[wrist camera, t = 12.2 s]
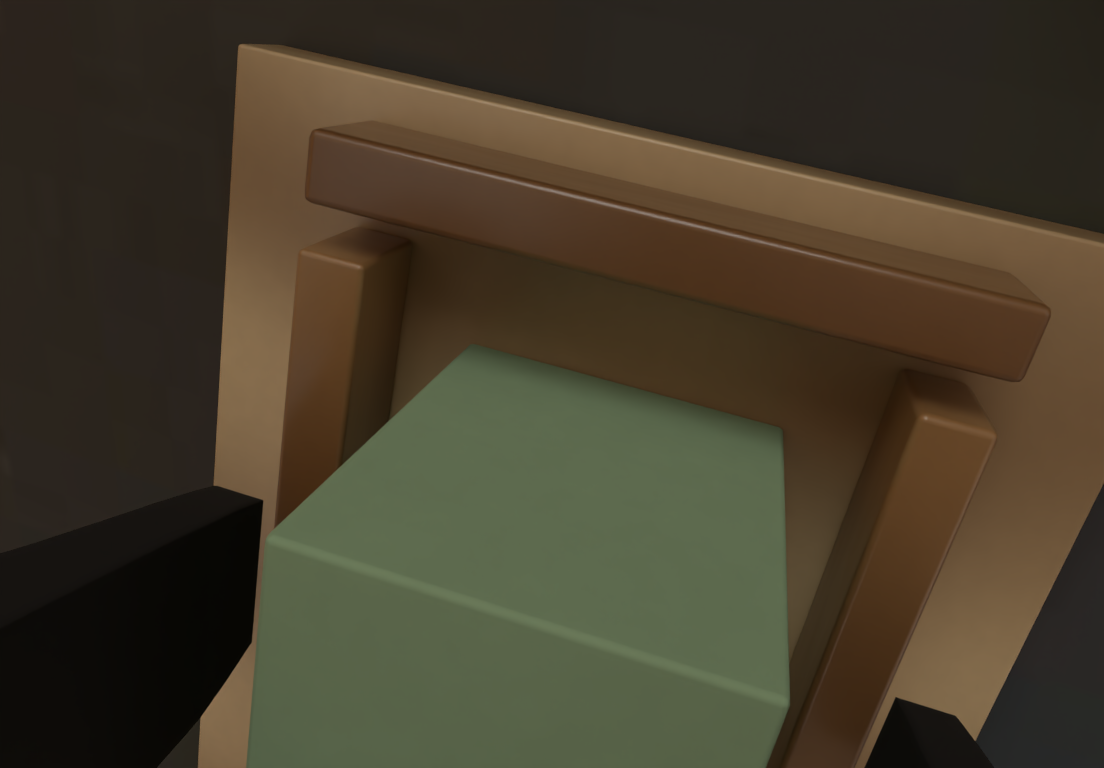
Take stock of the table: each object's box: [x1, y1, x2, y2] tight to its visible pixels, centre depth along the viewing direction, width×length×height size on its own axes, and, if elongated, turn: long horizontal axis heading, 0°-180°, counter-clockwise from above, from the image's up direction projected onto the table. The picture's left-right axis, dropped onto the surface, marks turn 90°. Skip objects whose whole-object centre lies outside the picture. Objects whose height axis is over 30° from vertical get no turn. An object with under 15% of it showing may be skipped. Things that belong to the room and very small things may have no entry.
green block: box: [246, 344, 790, 768], centre depth 10 cm, size 5×4×5 cm
